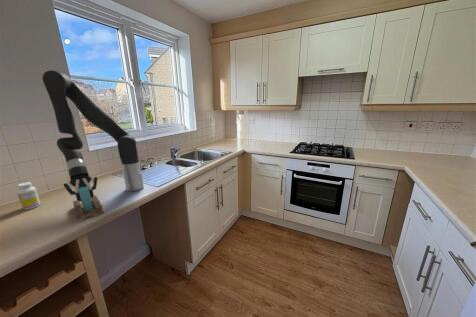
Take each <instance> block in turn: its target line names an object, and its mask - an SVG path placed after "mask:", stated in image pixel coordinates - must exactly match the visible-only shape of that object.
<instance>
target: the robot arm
mask: <svg viewBox="0 0 476 317" xmlns="http://www.w3.org/2000/svg"><path fill="white" fill-rule="evenodd" d="M42 83H43V85H44V87H45V90H46V92H47V94H48V96H49V99H50V102H51V104H52V105H51V106H52V107H53V108H52V109H53V111H54V115H55V120H56V125H57V129H58V132H59V133H61V134H67V135H71V136H69V137H61V138H58V139H57V141H56V146H57V148H58V149H59V150H60V152H61V153H62V154H63V157H64V158H65V162H66V168H67V172H68V176H69V179H70V180H69V182H67V183H63V187H64V189H65V190H66V191H67V192H68V193H69V195H70V196H74V195H75V197H76V200H78V201H79V202H81V198H80V194H79V191H78V189H79V187H83V186H87V187H88V189H89V193H90V198H93V197H94V196H95V195H94V194H95V193H94V190H97V184H98V177H97V176H95V177H91V176H90V174H89V171H88V167H87V164H86V162H85V160H84V158H83V156H84V155H83V154H82V152H81V151H80V150H81V149H83V146H84V143H83V140H82V138H81V137H80V136H79V133H78V130H77V128H76V123H75V118H74V115H73V112H72V110H71V108H70V106H69V103H68V100H70V101H71V102H72V103H73V104H74V105H75V107H76V108H77V109H78V111H79V112H80V114H81V115H82V116H83V117H84V118H85V119H86V120H87V121H89V123H91V124H92V125H93V126H95V127H97V128H98V129H100V130H101V131H102V132H104V133H106V134H108V135H109V136H110V137H111V138H112V139H113V140H114V141H116V143H117V149H118V155H119V159H120V163H121V168H122V173H123V179H124V185H125V190H126V191H127V192H131V193H132V192H136V191H137V192H138V191H140V190H142V189H144V187H145V186H144V181H143V173H141V168H140V160H139V156H138V149H137V141H136V139H135V137H134V136H132V135H131V134H129V133H128V132H127V131H126V130H125V129H123V128H122V127H121V126H120V125H119V124H118V123H117V122H116V121H115V119H114V118H112V116H110V115H109V114H108V113H107V112H106V111H105V109H103V108H102V107H101V106H100V105H99V104H97V103H96V102H95V101H94V100H93V99H92V98H90V96H88V95H87V94H86V93H84V91H83V90H81V88H80V87H79V86H78V85H77V84H76V82H74V81H73V79H72V78H71V77H70V76H68V75H67V74H66V73H64V72H62V71H57V70H46V71H45V72H44V73H43V74H42ZM67 99H68V100H67ZM91 182H92V183H93V185H92V186H91V185H90V183H91ZM71 186H73V187H75V189H74V190H72V188H71Z"/></svg>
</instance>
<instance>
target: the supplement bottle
mask: <svg viewBox="0 0 476 317" xmlns="http://www.w3.org/2000/svg"><path fill="white" fill-rule="evenodd" d="M17 187H18V189H17V191H16V193H17V196H18V199H19V202H20V204H21V207H22V209H23V210H31V209H35V208H38V207H40V206H41V200H40V197H39V194H38V192H37V191H38V190H37V188H36V186H33V184H32V182H31V181H28V182H27V181H26V182H22V183H19V184H18V185H17Z"/></svg>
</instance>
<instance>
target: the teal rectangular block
mask: <svg viewBox="0 0 476 317" xmlns="http://www.w3.org/2000/svg"><path fill="white" fill-rule="evenodd" d="M78 191H79V194H80V198H81V201H80V204H82V207H83V209H84V212H85V211H89V210H92V209H93V206H92V202H91V197H90V193H89V189H88V187H87V186H83V187H79V189H78Z"/></svg>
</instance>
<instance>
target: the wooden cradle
mask: <svg viewBox="0 0 476 317" xmlns="http://www.w3.org/2000/svg"><path fill="white" fill-rule="evenodd" d="M90 198H91V197H90ZM91 202H92V206H93V209H92V210H89V211H85V212H84V209H83V207H82V203H81V201H78V200H77V199H76V200H73V201H72V205H73V208H74V211H75V216H76V219H77V222H80V221H83V220H87V219H90V218H93V217H97V216H101V215H103V214H104V213H105V212H104V208H103V205H102V203H101V202H100V200H99V198H98V196H97V195H96V194H95V195H94V197H93V198H91Z"/></svg>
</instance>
